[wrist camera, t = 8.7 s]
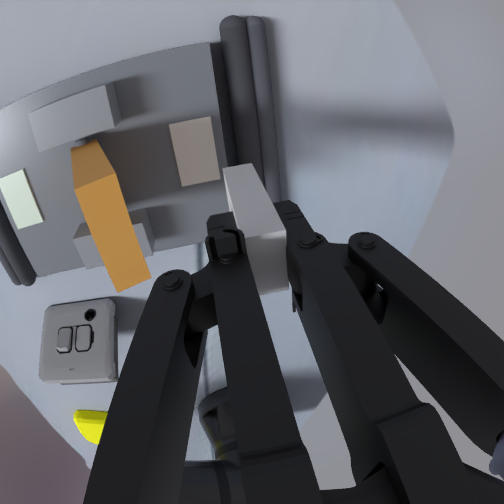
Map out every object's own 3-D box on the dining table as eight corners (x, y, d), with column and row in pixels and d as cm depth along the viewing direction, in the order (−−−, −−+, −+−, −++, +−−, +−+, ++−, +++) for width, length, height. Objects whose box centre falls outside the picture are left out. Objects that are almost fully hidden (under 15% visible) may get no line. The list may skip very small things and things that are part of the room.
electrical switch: (113, 295, 33) (105, 368, 26) (128, 323, 37) (125, 392, 30) (45, 304, 32) (28, 372, 25) (64, 330, 36) (53, 394, 29)
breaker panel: (233, 218, 30) (242, 251, 26) (46, 258, 29) (30, 293, 24) (207, 43, 21) (211, 40, 16) (-9, 115, 19) (-42, 132, 15)
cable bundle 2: (281, 227, 32) (286, 238, 30) (247, 233, 32) (250, 245, 30) (260, 14, 20) (266, 11, 18) (217, 18, 20) (219, 15, 18)
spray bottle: (126, 410, 48) (143, 453, 62) (69, 405, 46) (100, 450, 60) (126, 425, 46) (144, 464, 60) (67, 420, 44) (99, 461, 57)
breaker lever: (117, 210, 24) (153, 281, 17) (95, 219, 24) (119, 296, 16) (94, 133, 20) (113, 166, 13) (69, 143, 20) (72, 183, 12)
